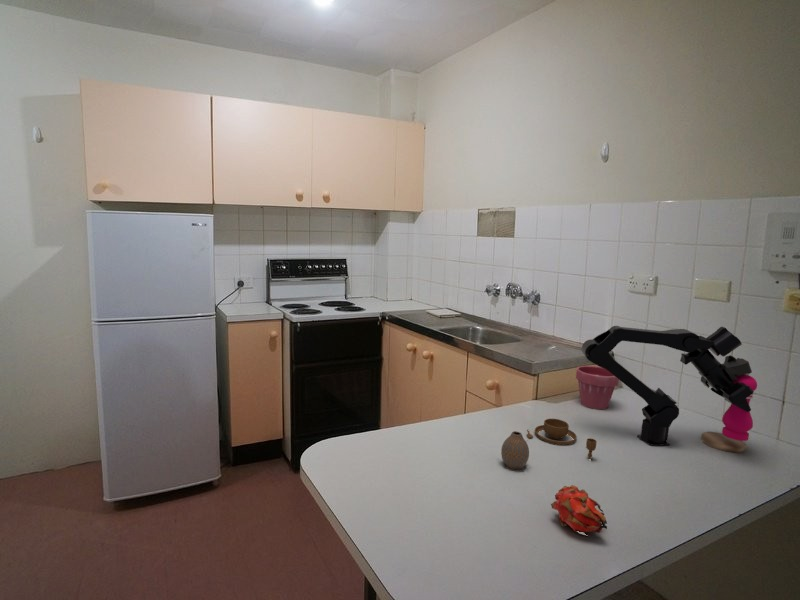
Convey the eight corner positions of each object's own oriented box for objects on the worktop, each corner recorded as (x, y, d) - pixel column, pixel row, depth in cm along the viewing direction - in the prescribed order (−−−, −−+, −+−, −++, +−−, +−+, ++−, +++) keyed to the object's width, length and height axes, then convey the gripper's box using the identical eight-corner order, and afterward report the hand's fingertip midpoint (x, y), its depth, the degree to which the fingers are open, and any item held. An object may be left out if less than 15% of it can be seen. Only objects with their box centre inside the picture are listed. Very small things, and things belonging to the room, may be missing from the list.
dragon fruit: (552, 515, 102) (599, 555, 93) (535, 504, 97) (583, 545, 88) (574, 483, 103) (623, 519, 93) (558, 470, 98) (608, 507, 89)
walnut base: (721, 453, 135) (722, 448, 135) (692, 436, 146) (693, 432, 145) (754, 452, 137) (755, 447, 136) (723, 436, 147) (724, 431, 147)
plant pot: (568, 396, 177) (572, 363, 176) (607, 399, 176) (611, 366, 174) (579, 410, 163) (583, 374, 162) (621, 414, 162) (625, 378, 160)
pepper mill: (751, 444, 131) (763, 374, 128) (720, 436, 135) (731, 369, 132) (748, 436, 137) (760, 369, 134) (719, 429, 141) (730, 364, 138)
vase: (529, 463, 123) (532, 431, 121) (525, 474, 116) (528, 441, 115) (503, 456, 125) (506, 425, 124) (497, 467, 119) (500, 434, 118)
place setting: (582, 433, 144) (584, 415, 144) (598, 464, 125) (600, 443, 124) (523, 427, 147) (525, 409, 146) (530, 456, 128) (532, 435, 127)
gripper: (751, 357, 124) (790, 402, 124) (718, 342, 142) (752, 381, 142) (713, 382, 127) (752, 426, 126) (685, 364, 145) (719, 403, 144)
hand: (744, 407), depth 135 cm, fingers closed on pepper mill, 5 cm apart
